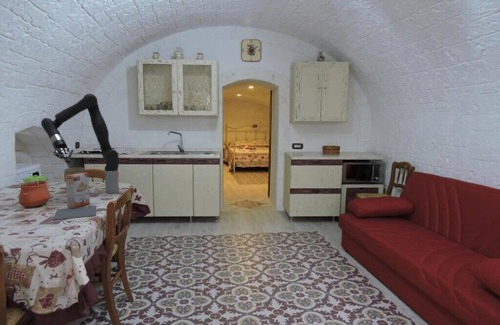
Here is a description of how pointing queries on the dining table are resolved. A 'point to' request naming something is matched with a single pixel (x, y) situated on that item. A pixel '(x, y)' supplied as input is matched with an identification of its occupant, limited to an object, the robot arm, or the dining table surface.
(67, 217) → the rubber mat
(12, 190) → the dining table surface
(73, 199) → the cracker box
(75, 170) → the plant pot
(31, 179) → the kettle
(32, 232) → the dining table surface
